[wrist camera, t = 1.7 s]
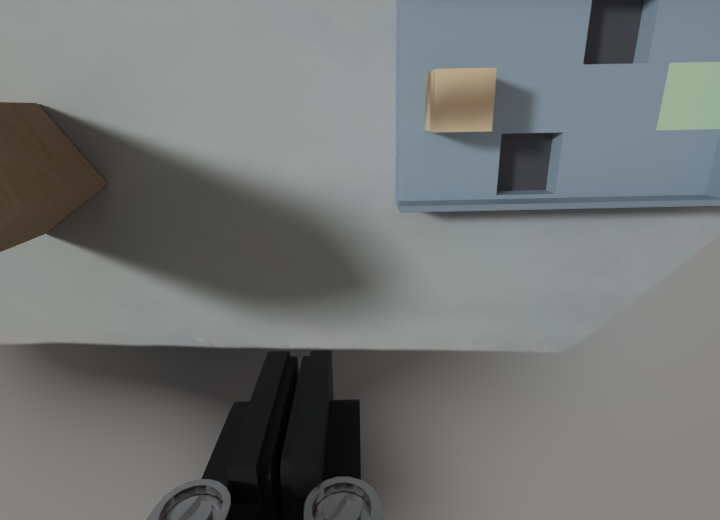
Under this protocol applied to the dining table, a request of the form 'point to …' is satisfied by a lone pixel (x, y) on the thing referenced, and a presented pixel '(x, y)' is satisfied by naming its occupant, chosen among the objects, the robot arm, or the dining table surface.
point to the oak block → (460, 99)
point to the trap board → (564, 104)
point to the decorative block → (38, 174)
